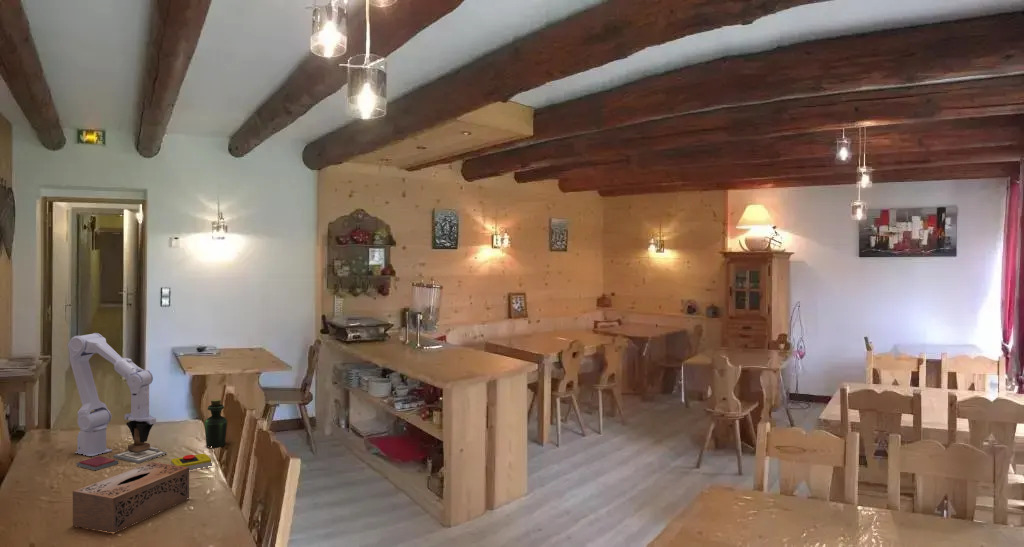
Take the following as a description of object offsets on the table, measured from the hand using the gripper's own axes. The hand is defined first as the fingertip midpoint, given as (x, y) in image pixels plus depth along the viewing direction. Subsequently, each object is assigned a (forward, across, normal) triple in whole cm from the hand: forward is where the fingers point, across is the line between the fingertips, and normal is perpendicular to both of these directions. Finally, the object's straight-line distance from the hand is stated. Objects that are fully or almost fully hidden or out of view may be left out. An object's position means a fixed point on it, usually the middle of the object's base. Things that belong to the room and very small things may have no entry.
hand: (140, 441), depth 230 cm
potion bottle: (+6, +14, +21) cm, 26 cm away
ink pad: (+6, -4, -13) cm, 15 cm away
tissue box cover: (+6, +44, -33) cm, 55 cm away
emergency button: (+6, +26, +1) cm, 27 cm away
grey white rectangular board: (+6, 0, 0) cm, 6 cm away
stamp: (+3, 0, -1) cm, 3 cm away
